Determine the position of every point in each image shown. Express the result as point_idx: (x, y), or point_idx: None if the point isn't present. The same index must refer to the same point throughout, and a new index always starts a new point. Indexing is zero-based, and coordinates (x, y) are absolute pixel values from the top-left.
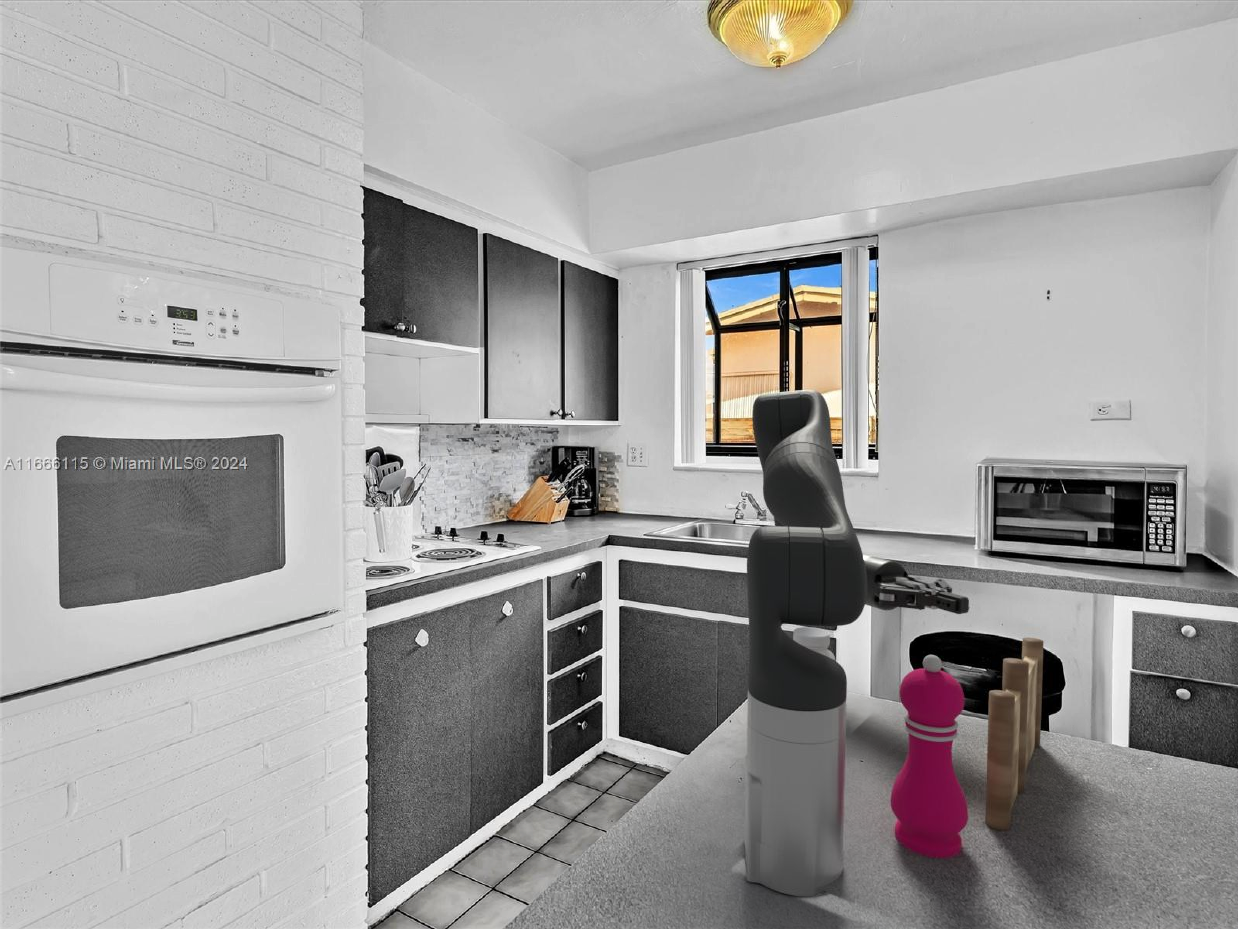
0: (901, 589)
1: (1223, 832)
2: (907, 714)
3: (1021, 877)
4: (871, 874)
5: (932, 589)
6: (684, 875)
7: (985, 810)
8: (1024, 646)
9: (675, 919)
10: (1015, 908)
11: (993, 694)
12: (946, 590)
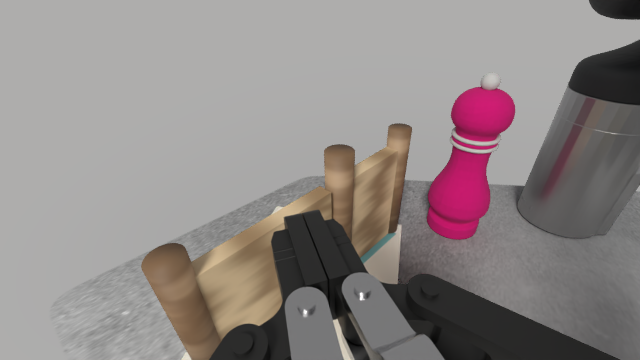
0: (531, 336)
1: (213, 222)
2: (497, 137)
3: None
4: (496, 208)
5: (338, 346)
6: (636, 215)
7: (397, 223)
8: (188, 267)
9: None
10: (413, 185)
11: (409, 127)
12: (295, 292)
